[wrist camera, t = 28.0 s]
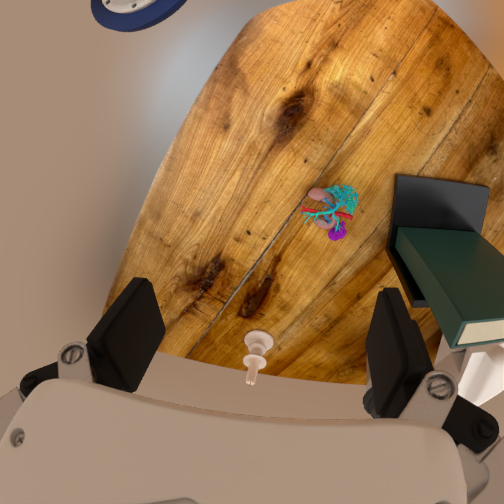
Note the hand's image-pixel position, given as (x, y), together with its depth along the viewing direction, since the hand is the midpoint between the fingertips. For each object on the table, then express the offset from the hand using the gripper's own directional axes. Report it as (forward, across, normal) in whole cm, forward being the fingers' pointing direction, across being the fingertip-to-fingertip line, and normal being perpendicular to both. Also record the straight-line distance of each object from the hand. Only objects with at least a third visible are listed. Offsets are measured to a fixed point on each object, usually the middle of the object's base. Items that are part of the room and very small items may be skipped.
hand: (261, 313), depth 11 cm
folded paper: (+27, -40, +28) cm, 56 cm away
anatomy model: (+28, -5, +5) cm, 29 cm away
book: (+16, -22, +7) cm, 28 cm away
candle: (+28, +5, +30) cm, 41 cm away
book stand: (+27, -22, +6) cm, 36 cm away
